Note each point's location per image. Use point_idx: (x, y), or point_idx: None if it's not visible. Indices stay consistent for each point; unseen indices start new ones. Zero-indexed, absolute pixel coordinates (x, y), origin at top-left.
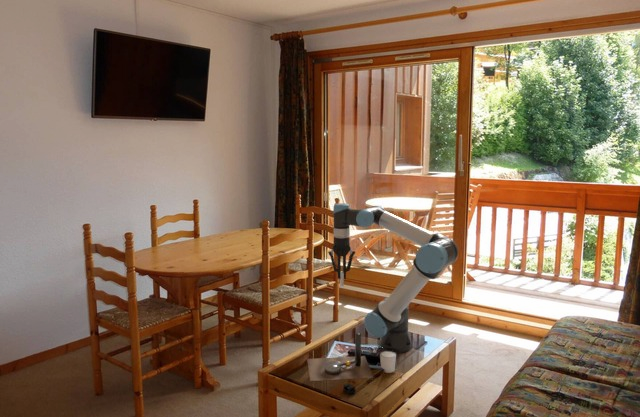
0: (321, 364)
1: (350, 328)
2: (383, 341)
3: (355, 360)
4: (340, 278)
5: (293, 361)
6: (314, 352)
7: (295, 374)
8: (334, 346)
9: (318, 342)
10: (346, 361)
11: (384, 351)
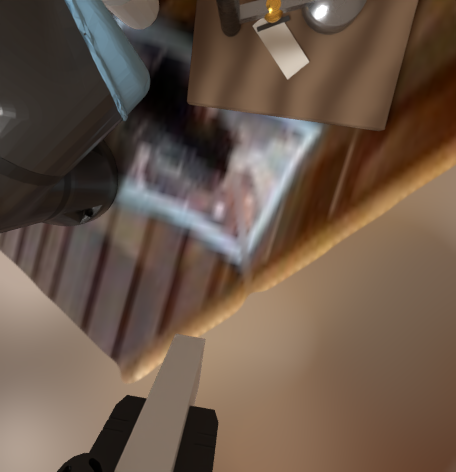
0: (350, 71)
1: (171, 334)
2: (98, 160)
3: (242, 6)
4: (188, 406)
5: (421, 148)
6: (332, 197)
7: (447, 46)
8: (256, 223)
9: (297, 265)
10: (278, 1)
11: (119, 2)
